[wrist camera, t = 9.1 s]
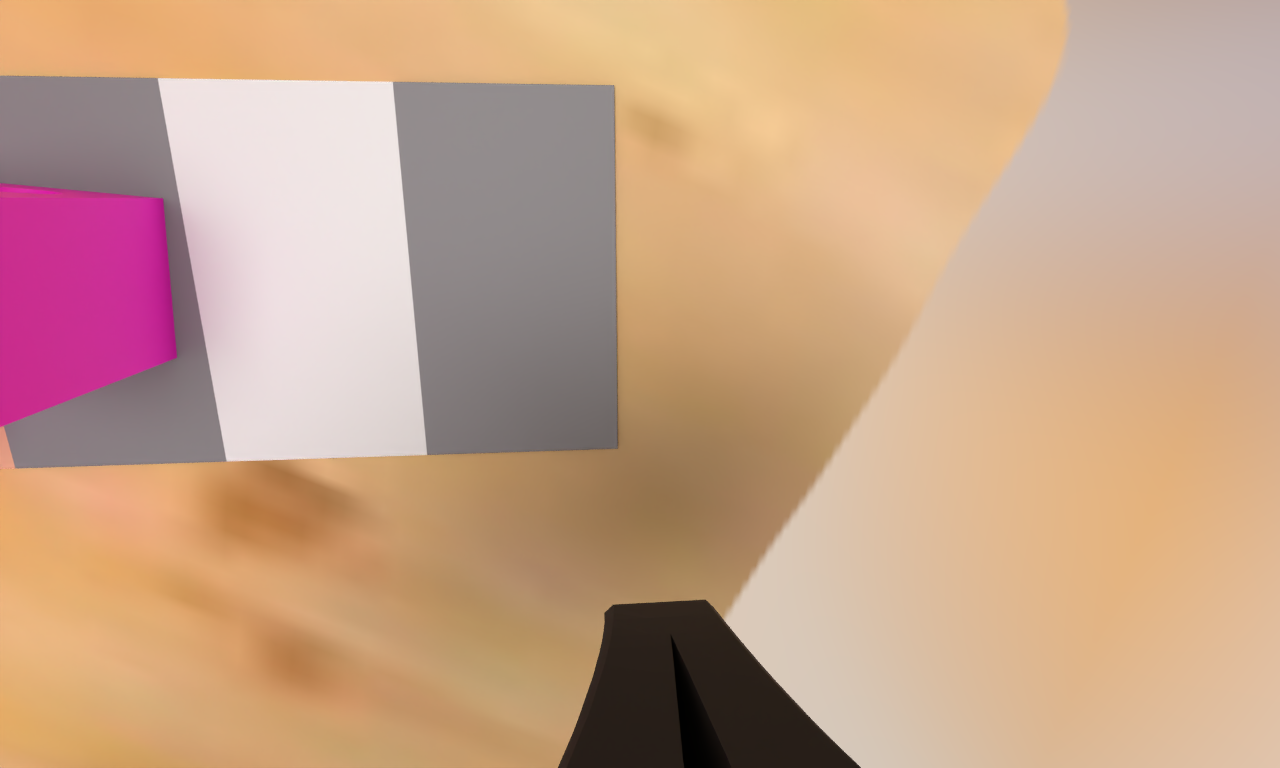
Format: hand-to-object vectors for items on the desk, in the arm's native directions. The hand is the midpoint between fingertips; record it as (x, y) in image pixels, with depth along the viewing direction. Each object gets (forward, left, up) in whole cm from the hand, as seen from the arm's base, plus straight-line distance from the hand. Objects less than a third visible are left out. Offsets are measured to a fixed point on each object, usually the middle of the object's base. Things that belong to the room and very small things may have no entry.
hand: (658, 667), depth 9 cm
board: (+4, +13, -9) cm, 16 cm away
